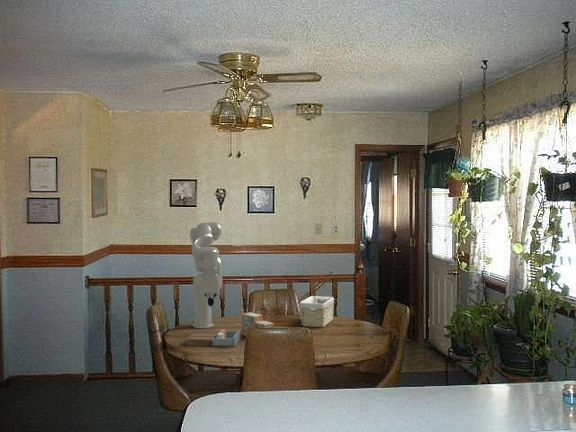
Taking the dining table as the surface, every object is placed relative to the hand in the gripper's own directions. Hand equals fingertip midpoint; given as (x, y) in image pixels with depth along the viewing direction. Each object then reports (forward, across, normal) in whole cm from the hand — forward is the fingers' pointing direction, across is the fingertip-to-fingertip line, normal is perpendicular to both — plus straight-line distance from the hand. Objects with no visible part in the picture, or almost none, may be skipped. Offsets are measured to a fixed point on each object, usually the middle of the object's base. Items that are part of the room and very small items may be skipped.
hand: (210, 305), depth 322 cm
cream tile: (+16, +5, -5) cm, 18 cm away
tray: (+20, +9, -1) cm, 22 cm away
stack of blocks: (+20, +24, +12) cm, 33 cm away
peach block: (+17, +4, +3) cm, 17 cm away
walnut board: (+20, -5, -1) cm, 20 cm away
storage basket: (+21, +55, +49) cm, 76 cm away
